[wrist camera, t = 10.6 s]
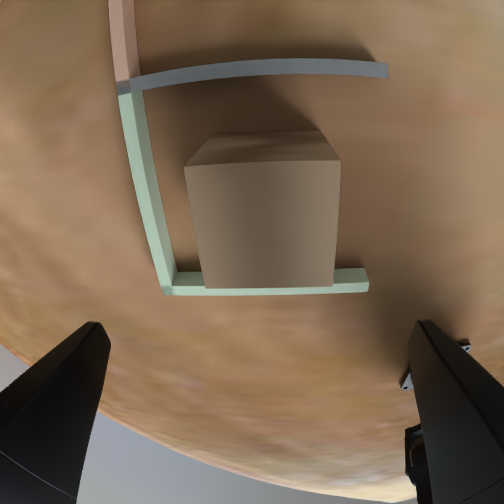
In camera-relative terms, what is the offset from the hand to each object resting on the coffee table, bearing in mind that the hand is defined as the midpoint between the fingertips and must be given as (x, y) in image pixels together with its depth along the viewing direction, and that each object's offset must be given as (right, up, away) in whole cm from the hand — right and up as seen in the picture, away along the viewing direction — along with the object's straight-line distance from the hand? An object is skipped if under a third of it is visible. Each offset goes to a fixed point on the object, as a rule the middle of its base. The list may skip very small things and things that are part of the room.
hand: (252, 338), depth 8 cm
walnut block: (+1, +6, +10) cm, 12 cm away
